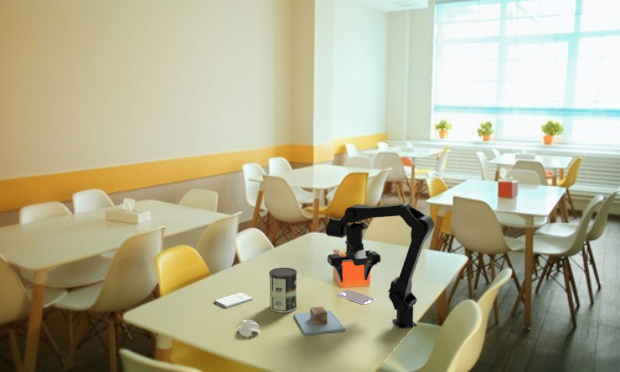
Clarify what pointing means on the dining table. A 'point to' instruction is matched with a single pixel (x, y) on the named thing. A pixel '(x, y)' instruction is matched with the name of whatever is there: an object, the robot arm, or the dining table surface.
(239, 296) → the external hard drive
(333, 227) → the robot arm
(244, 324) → the white crumpled lump
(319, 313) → the walnut block
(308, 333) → the mat
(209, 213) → the dining table surface
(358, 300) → the mobile phone
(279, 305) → the coffee can
